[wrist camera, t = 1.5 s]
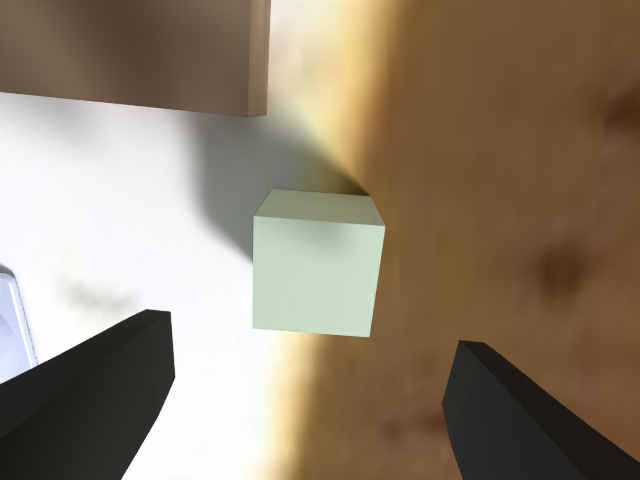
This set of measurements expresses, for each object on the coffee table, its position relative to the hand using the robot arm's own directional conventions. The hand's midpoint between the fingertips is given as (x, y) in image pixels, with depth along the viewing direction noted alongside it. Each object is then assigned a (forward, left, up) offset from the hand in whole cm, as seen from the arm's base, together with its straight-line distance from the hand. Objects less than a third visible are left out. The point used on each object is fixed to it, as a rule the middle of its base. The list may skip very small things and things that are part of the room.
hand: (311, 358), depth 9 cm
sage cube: (0, 0, -9) cm, 9 cm away
